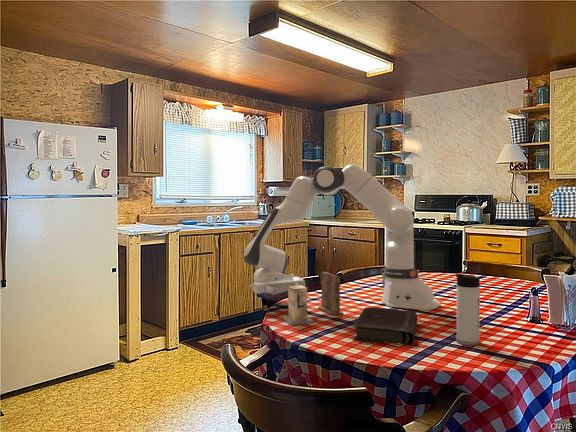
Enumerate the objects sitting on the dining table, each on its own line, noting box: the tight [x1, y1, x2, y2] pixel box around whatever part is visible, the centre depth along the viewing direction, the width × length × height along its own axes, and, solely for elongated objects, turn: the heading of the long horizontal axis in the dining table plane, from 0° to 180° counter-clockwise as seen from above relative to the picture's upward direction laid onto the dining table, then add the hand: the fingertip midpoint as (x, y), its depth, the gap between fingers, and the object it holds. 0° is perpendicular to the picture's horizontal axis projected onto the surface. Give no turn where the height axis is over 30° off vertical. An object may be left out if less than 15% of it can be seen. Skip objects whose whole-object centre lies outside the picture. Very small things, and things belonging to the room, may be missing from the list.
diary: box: [352, 306, 418, 346], centre depth 146 cm, size 19×25×5 cm
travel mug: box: [455, 273, 481, 346], centre depth 133 cm, size 6×7×20 cm
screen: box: [317, 271, 344, 317], centre depth 171 cm, size 12×4×14 cm, turn 21°
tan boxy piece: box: [287, 285, 308, 321], centre depth 158 cm, size 5×5×11 cm
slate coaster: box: [282, 316, 314, 326], centre depth 158 cm, size 8×8×1 cm
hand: (285, 289), depth 170 cm, fingers open, 8 cm apart
